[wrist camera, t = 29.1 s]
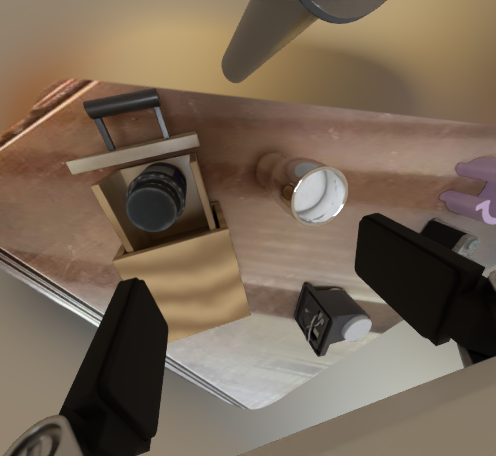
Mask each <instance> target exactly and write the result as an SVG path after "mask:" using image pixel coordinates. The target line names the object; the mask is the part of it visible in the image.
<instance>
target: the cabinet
mask: <svg viewBox="0 0 496 456" xmlns="http://www.w3.org/2000/svg"><path fill="white" fill-rule="evenodd" d="M210 204H211V208H212V211H213V215H214V218H215V222H216V225H217V229H215V230H211V231H208V232H204V233H201V234H197V235H193V236H190V237H186V238H183V239H179V240H175V241H172V242H168V243H165V244H161V245H157V246H154V247H150V248H147V249H143V250H139V251H136V252H132V253H129V254H128V253H127V251H126V249H125V247H124V246H123V244H122V245H121V247H120V249H119V250H118V252H117V254H116V256H115V257H114V259H113V261H112V262H113V264H114V266H115V267H116V269H117V271H118V272H119V274H120V275H121V277H122V279H123V280H127V279H131V278H135V277H137V278H138V279H139V280H144V281H145V283H146V285H147V287H148V288H149V290H150V292H151V294H152V296H153V298H154V300H155V302H156V303H157V305H158V307H159V309H160V311H161V313H162V315H163V317H164V318H165V320H166V322H167V324H168V330H169V333H168V342H167V343H170V342H173V341H176V340H179V339H182V338H185V337H188V336H191V335H194V334H196V333H199V332H202V331H205V330H208V329H211V328H214V327H217V326H220V325H223V324H226V323H229V322H232V321H235V320H238V319H241V318H244V317H247V316H250V315H251V313H250V310H249V306H248V302H247V298H246V294H245V291H244V287H243V283H242V279H241V275H240V272H239V268H238V264H237V260H236V256H235V253H234V249H233V245H232V241H231V237H230V234H229V230H228V227H227V224H226V221H225V218H224V215H223V213H222V210H221V207H220V204H219V201H217V202H213V203H210Z"/></svg>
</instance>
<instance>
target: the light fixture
mask: <svg viewBox="0 0 496 456" xmlns="http://www.w3.org/2000/svg"><path fill="white" fill-rule="evenodd" d="M295 320H296V322H297V323H298V325H299V327H300V328H301V330H302V332H303V333H304V335H305V337H306V340H307V341H308V342H309V343H310V345H311V347H312V348H313V350H314V352H315V353H316V355H317V356H318V357H320V356H324V355H325V354H326V352H327V349H328V347H329V345H330V344H332V343H336V342H340V341H343V340H346V341H349V342H352V341H356V340H359V339H360V338H362V337H363V336H365V335H366V334H367V333H368V331H369V330H370V328H371V325H372V323H371V321H370V316H369V315H368V314H367V313H366V312H365V311H364V310H363V309H362V308H361V307H360V306H359V305H358V304H357V303H356V302H355V301H354V300H353V299H352V298H351V297H350V296H349V295H348V294H347V293H346V292H345V291H343V290H340V289H338V288H332V289H329V290H321V291H316V290H315V289H314V287H313V286H312V285H311V284H305V285H303V288H302V291H301V295H300V298H299V301H298V305H297V308H296V312H295Z"/></svg>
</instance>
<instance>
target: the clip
mask: <svg viewBox="0 0 496 456" xmlns="http://www.w3.org/2000/svg"><path fill="white" fill-rule="evenodd" d="M456 170H457V174H458V175H459V176H464V177H469V178H474V179H479V180H485V181H487V184H486V186H485V187H484V189H483V191H482V192H481V193H480V194H479V196H478V197H476V196H472V195H468V194H465V193H461V192H457V191H453V190H448V191H446V192H444V193H442V194H441V195H440V196H439V200H443V201H446V206H447V208H448V209H449V210H450V211H452V212H455V213H458V214H461V215H464V216H467V217H470V218H473V219H476V220H479V221H482V222H484V223H487V224H496V158H489V157H480V158H477V159H475V160H473V161H471V162H469V163H468V164H466V163H459V164H458V165H457V166H456Z"/></svg>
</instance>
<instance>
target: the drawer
mask: <svg viewBox="0 0 496 456" xmlns="http://www.w3.org/2000/svg"><path fill="white" fill-rule="evenodd" d="M83 105H84V108H85V111H86V112H87V114H88V115H89V117H90V118H91V119H94V120H95V122H96V124H97V127H98V129H99V131H100V133H101V135H102V137H103V139H104V141H105V143H106V146H107V148H108V150H105V151H101V152H98V153H94V154H91V155H88V156H85V157H81V158H78V159H75V160H72V161H68V162H66V164H67V166H68V167H69V169H70V171H71V173H72V174H73V175H74V174H78V173H83V172H87V171H92V170H96V169H101V168H105V167H109V166H114V165H118V164H123V163H127V162H132V161H136V160H140V159H145V158H149V157H154V156H158V155H163V154H167V153H171V152H176V151H180V150H185V149H189V148H194V147H198V146H200V144H199V140H198V136H197V134H196V132H195V131H193V132H189V133H184V134H179V135H175V136H169V133H168V130H167V127H166V124H165V121H164V118H163V115H162V112H161V109H160V107H159V106H161V101H160V98H159V95H158V93H157V90H156V89H155V88H154V89H149V90H143V91H138V92H133V93H127V94H122V95H117V96H111V97H106V98H101V99H95V100H90V101H85V102H83ZM153 107H154V110H155V113H156V116H157V119H158V122H159V125H160V128H161V130H162V133H163V136H164V138H161V139H156V140H152V141H147V142H142V143H138V144H133V145H129V146H124V147H119V148H115V146H114V144H113V141H112V139H111V137H110V135H109V133H108V130H107V128H106V126H105V124H104V122H103V120H102V118H103V117H108V116H113V115H118V114H123V113H128V112H133V111H138V110H143V109H148V108H153ZM158 162H164V163H169V164H172V165H174V166H175V167H177V168H178V169H179V170H180V171H181V173H182V174H183V175H184V177H185V179H186V183H187V189H186V201H185V208H184V211H183V213H182V215H181V216H180V217H179V218H178V219H177V220H176V221H174V223H173V224H172V225H171V226H170V227H169V228H167V229H165V230H163V231H159V232H149V231H144V230H142V229H140V228H138V227H136V226H135V225H134V224H133V223H132V222H131V221H130V219H129V218H128V216H127V213H126V192H127V189H128V186H129V184H130V183H131V182H132V181H133V180H134V179H135V178H136V177H137V176H138V175H139V174H140V173H141V172H142V171H143V170H145V169H146V168H147V167H148V166H150V165H152V164H154V163H158ZM91 188H92V190H93V192H94V194H95V195H96V197H97V199H98V201H99V203H100V204H101V206H102V208H103V210H104V212H105V213H106V215H107V217H108V219H109V221H110V222H111V224H112V226H113V228H114V230H115V231H116V233H117V235H118V237H119V238H120V240H121V242H122V244H123V246H124V247H125V249H126V251H127V253H128V254H129V253H132V252H136V251H139V250H143V249H147V248H150V247H154V246H157V245H161V244H165V243H168V242H172V241H175V240H179V239H183V238H186V237H190V236H193V235H197V234H201V233H204V232H208V231H211V230H215V229H217V225H216V222H215V218H214V215H213V211H212V208H211V204H210V201H209V198H208V194H207V191H206V187H205V184H204V180H203V177H202V173H201V170H200V167H199V163H198V160H197V156H196V153H195V152H194V153H189V154H185V155H180V156H176V157H172V158H167V159H163V160H159V161H154V162H150V163H145V164H141V165H137V166H132V167H128V168H124V169H119V170H115V171H114V172H112V173H111V174H109V175H107V176H106V177H104V178H103V179H101V180H99V181H98V182H96V183H94V184H93V185H91Z"/></svg>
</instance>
